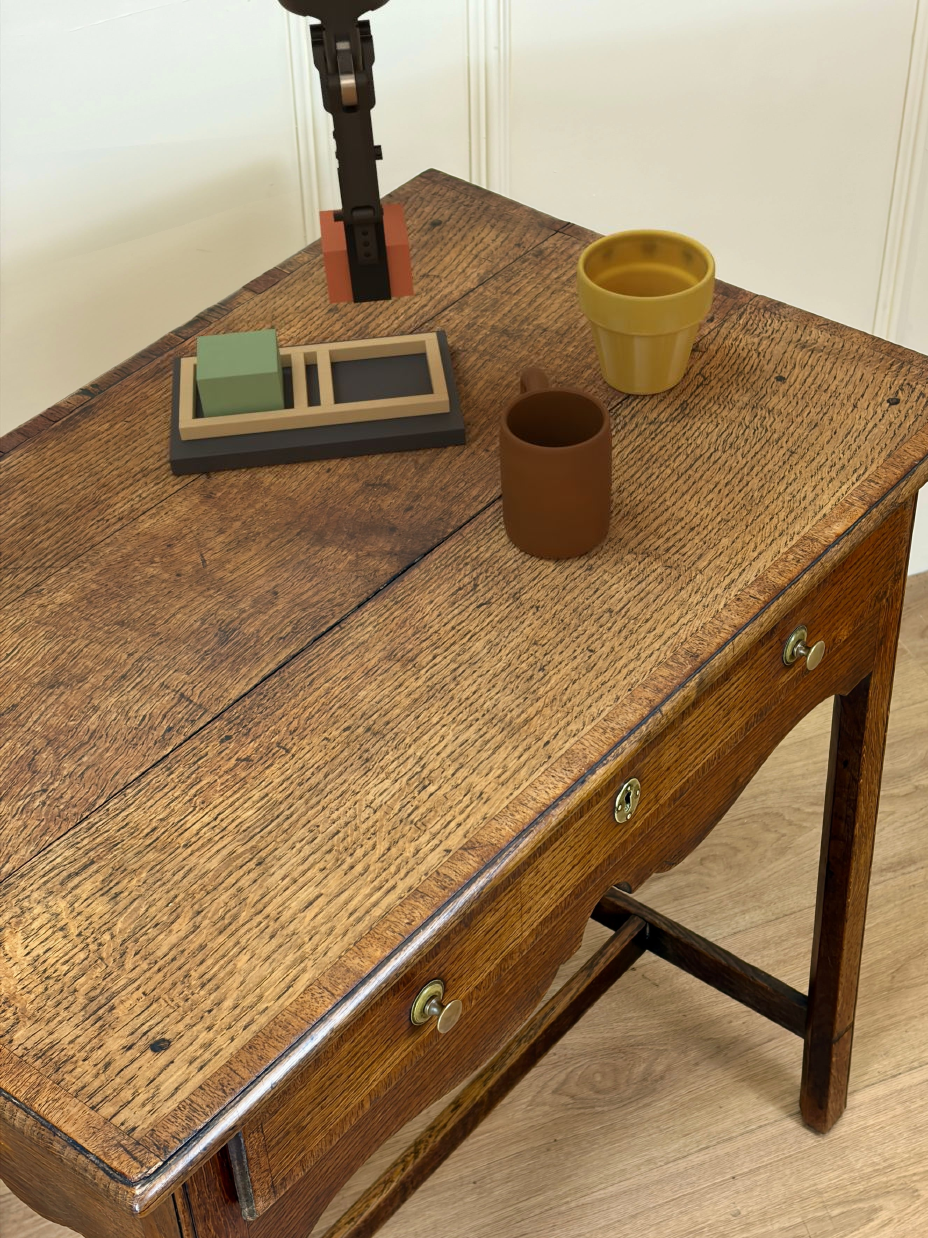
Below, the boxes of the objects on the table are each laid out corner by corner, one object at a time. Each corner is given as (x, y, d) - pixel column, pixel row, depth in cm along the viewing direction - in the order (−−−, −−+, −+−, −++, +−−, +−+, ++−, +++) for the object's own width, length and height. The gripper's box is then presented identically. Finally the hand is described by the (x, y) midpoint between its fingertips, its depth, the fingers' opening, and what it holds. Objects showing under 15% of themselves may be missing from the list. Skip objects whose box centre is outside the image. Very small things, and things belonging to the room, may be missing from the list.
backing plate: (173, 476, 110) (165, 446, 108) (176, 373, 120) (170, 344, 118) (466, 444, 112) (464, 414, 110) (446, 345, 122) (444, 316, 120)
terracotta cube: (329, 303, 105) (322, 252, 102) (325, 261, 109) (318, 211, 106) (414, 295, 105) (409, 243, 103) (406, 253, 110) (402, 203, 107)
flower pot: (645, 426, 113) (649, 313, 106) (550, 374, 118) (548, 262, 111) (734, 372, 118) (744, 260, 111) (640, 324, 123) (643, 214, 116)
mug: (481, 469, 110) (474, 359, 103) (581, 453, 111) (580, 343, 104) (515, 571, 101) (511, 458, 95) (623, 553, 102) (625, 441, 96)
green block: (206, 424, 112) (196, 379, 109) (206, 381, 116) (197, 336, 113) (285, 416, 113) (277, 371, 110) (283, 373, 117) (275, 328, 114)
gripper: (402, -16, 84) (433, 339, 101) (379, -121, 97) (409, 208, 114) (270, -5, 84) (323, 350, 100) (265, -112, 97) (312, 217, 113)
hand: (369, 274), depth 107 cm, fingers closed on terracotta cube, 6 cm apart
